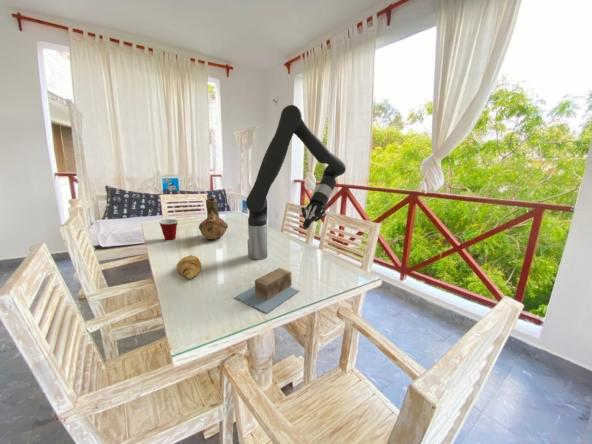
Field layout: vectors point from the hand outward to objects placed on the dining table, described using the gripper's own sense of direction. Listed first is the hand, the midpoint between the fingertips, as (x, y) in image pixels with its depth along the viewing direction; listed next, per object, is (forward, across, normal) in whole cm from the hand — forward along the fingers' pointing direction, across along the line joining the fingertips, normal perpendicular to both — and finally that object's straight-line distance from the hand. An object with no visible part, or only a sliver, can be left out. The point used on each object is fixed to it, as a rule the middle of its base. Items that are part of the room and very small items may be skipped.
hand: (305, 227), depth 110 cm
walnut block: (+22, +1, +2) cm, 22 cm away
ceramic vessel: (+12, -72, +18) cm, 75 cm away
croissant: (+37, -41, -7) cm, 56 cm away
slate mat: (+32, +1, -3) cm, 32 cm away
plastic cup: (+25, -92, +6) cm, 95 cm away
